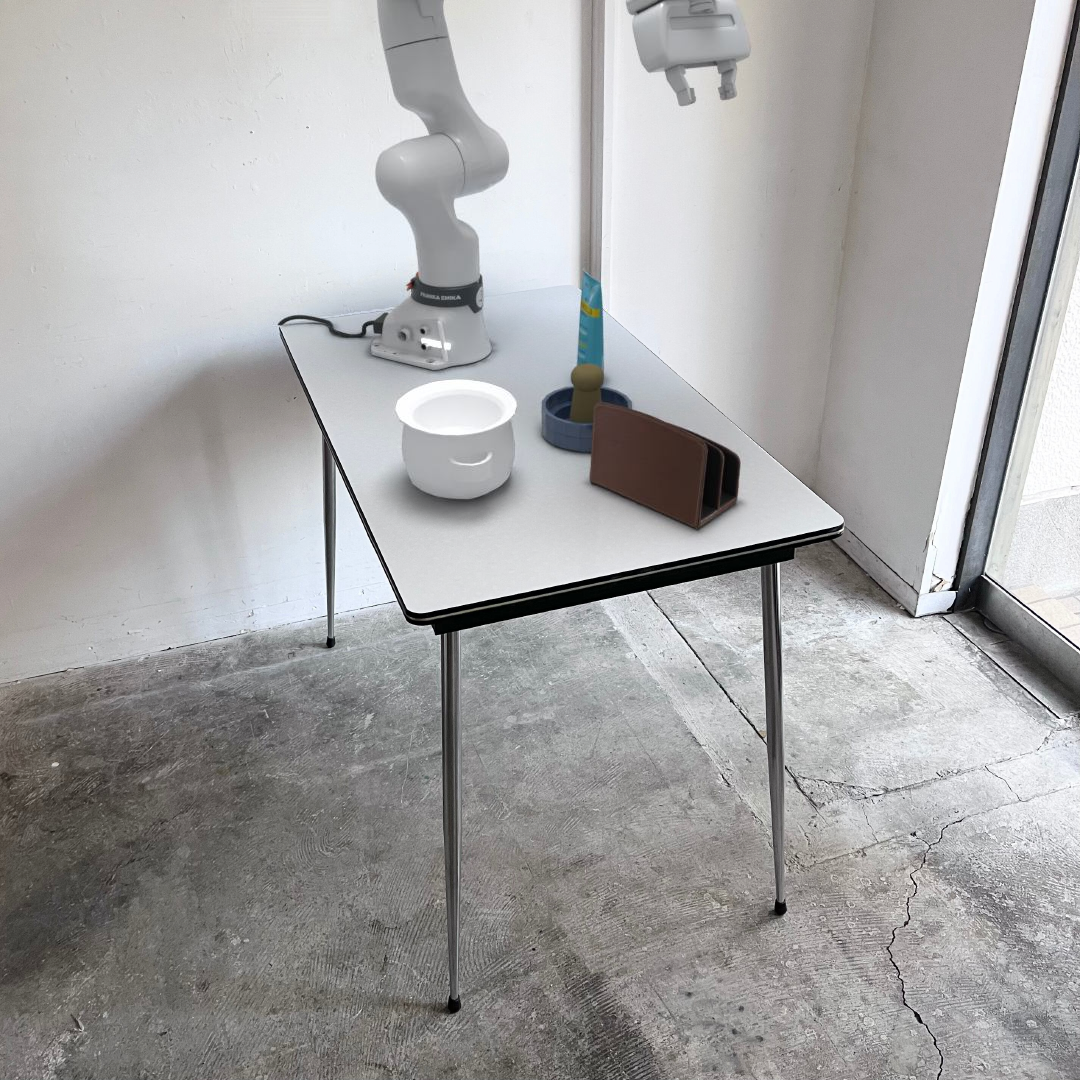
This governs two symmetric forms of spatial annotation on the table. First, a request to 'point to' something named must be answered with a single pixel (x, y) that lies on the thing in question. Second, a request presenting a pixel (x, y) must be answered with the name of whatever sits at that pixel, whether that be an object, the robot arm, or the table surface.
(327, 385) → the table surface
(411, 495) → the table surface
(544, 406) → the bowl
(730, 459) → the letter holder
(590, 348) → the tube
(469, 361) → the robot arm
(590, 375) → the cork
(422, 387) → the pot
